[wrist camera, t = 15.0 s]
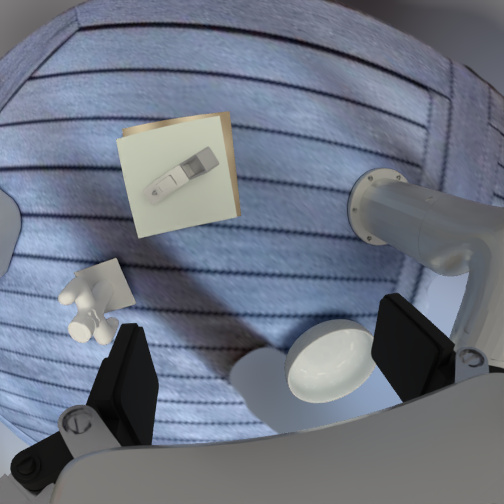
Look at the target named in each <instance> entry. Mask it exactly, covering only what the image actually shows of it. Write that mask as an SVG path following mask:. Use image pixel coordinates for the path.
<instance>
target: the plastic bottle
mask: <svg viewBox="0 0 504 504" xmlns="http://www.w3.org/2000/svg"><path fill="white" fill-rule="evenodd" d="M20 229H21V216H20V212H19V209H18V207H17V205H16V203H15V202H14V200H13V199H12V198H11V197H9V196H8V195H7V194H6V193H4V192H3V191H2V190H1V189H0V277H2V276H3V275H4V274H5V273H6V271H7V269H8V267H9V263H10V260H11V257H12V253H13V250H14V247H15V244H16V241H17V238H18V235H19V232H20Z"/></svg>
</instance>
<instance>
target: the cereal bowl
mask: <svg viewBox="0 0 504 504" xmlns="http://www.w3.org/2000/svg"><path fill="white" fill-rule="evenodd" d="M373 338H374V337H373V336H372V334H371V333H370V332H369V331H368V330H367V329H366V328H365V327H364V326H362V325H361V324H358V323H357V322H354V321H350V320H345V319H335V320H330V321H325V322H322V323H319V324H317V325H315V326H313V327H311V328H310V329H308V330H307V331H305V332H304V333H303V334H302V335H301V336H300V337H298V339H297V340H296V341H295V342H294V343H293V345H292V346H291V348H290V350H289V352H288V354H287V357H286V362H285V376H286V380H287V383H288V386H289V389H290V390H291V392H292V393H293V394H294V395H295V396H296V397H297V398H299V399H301V400H303V401H306V402H311V403H323V402H328V401H333V400H336V399H338V398H341V397H343V396H345V395H347V394H349V393H351V392H352V391H354V390H355V389H357V388H358V387H359V386H360V385H362V384H363V383H364V382H365V381H366V380H367V378H368V377H369V376H370V375H371V373H372V371H373V370H374V368H375V366H376V363H375V362H374V360H373V359H372V357H371V348H372V343H373Z"/></svg>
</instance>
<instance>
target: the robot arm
mask: <svg viewBox="0 0 504 504" xmlns="http://www.w3.org/2000/svg"><path fill="white" fill-rule="evenodd" d="M368 177H369V178H368ZM348 217H349V221H350V225H351V227H352V229H353V231H354V232H355V234H356V235H357V236H358V237H359V238H360V239H362V240H363V241H365V242H366V243H369V244H372V245H378V246H380V245H386V244H389V245H391V246H393V247H394V248H396V249H398V250H399V251H401V252H403V253H404V254H406V255H408V256H409V257H411V258H413V259H414V260H416V261H417V262H419V263H421V264H422V265H424V266H426V267H427V268H429V269H431V270H432V271H434V272H436V273H438V274H440V275H443V276H458V275H461V274H464V273H467V272H469V277H468V281H467V285H466V290H465V293H464V297H463V300H462V303H461V306H460V309H459V312H458V314H457V318H456V320H455V323H454V326H453V328H452V331H451V334H450V337H449V338H448V337H447V336H446V335H445V334H444V333H443V332H441V331H440V330H439V329H438V328H437V327H436V326H435V325H434V324H433V323H432V322H431V321H430V320H428V319H427V318H426V317H425V316H424V315H423V314H422V313H421V312H419V311H418V310H417V309H416V308H415V307H414V306H413V305H412V304H410V303H409V302H408V301H407V300H406V299H405V298H404V297H402V296H401V295H400V294H399V293H393V294H387V295H385V296H384V297H383V299H381V301H380V305H379V311H378V317H377V322H376V328H375V333H374V338H373V343H372V348H371V357H372V359H373V360H374V362H375V363H376V365H377V366H378V367H379V369H380V370H381V372H382V373H383V374H384V375H385V377H386V379H387V380H388V382H389V383H390V384H391V386H392V387H393V389H394V390H395V392H396V393H397V394H398V396H399V397H400V399H401V400H402V402H403V403H401V404H398V405H395V406H392V407H389V408H386V409H382V410H379V411H376V412H373V413H370V414H366V415H363V416H359V417H355V418H352V419H348V420H344V421H340V422H336V423H332V424H328V425H324V426H319V427H315V428H310V429H306V430H300V431H295V432H290V433H284V434H278V435H272V436H265V437H258V438H250V439H242V440H233V441H223V442H210V443H195V444H174V445H152V436H153V427H154V419H155V411H156V404H157V396H158V389H159V383H158V378H157V375H156V372H155V368H154V365H153V362H152V358H151V355H150V351H149V348H148V344H147V341H146V337H145V333H144V330H143V327H138V325H137V323H127V324H122V325H121V327H120V329H119V332H118V334H117V336H116V339H115V341H114V344H113V346H112V349H111V351H110V354H109V356H108V358H104V359H103V361H102V363H101V366H100V368H99V371H98V374H97V376H96V379H95V381H94V384H93V387H92V389H91V392H90V395H89V398H88V400H87V403H86V405H75V406H72V407H70V408H68V409H66V410H65V411H64V412H63V413H62V414H61V415H60V417H59V419H58V428H59V431H58V432H56V433H54V434H53V435H51V436H49V437H47V438H45V439H43V440H42V441H40V442H38V443H36V444H34V445H32V446H30V447H29V448H27V449H25V450H23V451H21V452H19V453H18V454H17V455H16V456H15V457H14V458H13V460H12V463H11V468H10V469H11V474H10V475H9V476H7V475H6V474H4V475H3V476H2V477H1V478H0V504H504V208H503V207H497V206H492V205H486V204H482V203H478V202H474V201H471V200H467V199H463V198H460V197H457V196H453V195H450V194H447V193H443V192H440V191H436V190H433V189H429V188H425V187H421V186H418V185H414V184H410V183H408V182H407V180H406V179H405V178H404V176H403V175H402V174H400V173H399V172H397V171H395V170H392V169H389V168H376V169H372V170H370V171H369V172H367V173H365V174H364V175H363V176H362V177H361V178H360V179H359V180H358V181H357V182H356V184H355V186H354V187H353V189H352V192H351V194H350V197H349V202H348Z"/></svg>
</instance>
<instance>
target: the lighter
mask: <svg viewBox="0 0 504 504" xmlns="http://www.w3.org/2000/svg"><path fill="white" fill-rule="evenodd" d="M218 165H219V161H218V160H217V158H216V156H215V155H214V153H213V152H212V150H211V149H210V147H206V148H204V149H203V150H201V151H199V152H198V153H196V154H195V155H193V156H191V157H190V158H188V159H187V160H185V161H184V162H182V163H180V164H179V165H177V166H176V167H174V168H173V169H171V170H170V171H168V172H167V173H165V174H164V175H162V176H161V177H159V178H158V179H157V180H155V181H154V182H152V183H151V184H150V185H148V186H147V187H146V188H144V189H143V193H144V194H145V196H146V197H147V199H148V200H149V202H150V203H151V204H153V205H154V204H155V203H157V202H158V201H160V200H161V199H163V198H164V197H166V196H167V195H168V194H170V193H171V192H173V191H174V190H176V189H177V188H179V187H180V186H182V185H183V184H185V183H186V182H188V180H192V179H194V178H196V177H198V176H201V175H203V174H206V173H207V172H209V171H210V170H212V169H213V168H215V167H216V166H218Z"/></svg>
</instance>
